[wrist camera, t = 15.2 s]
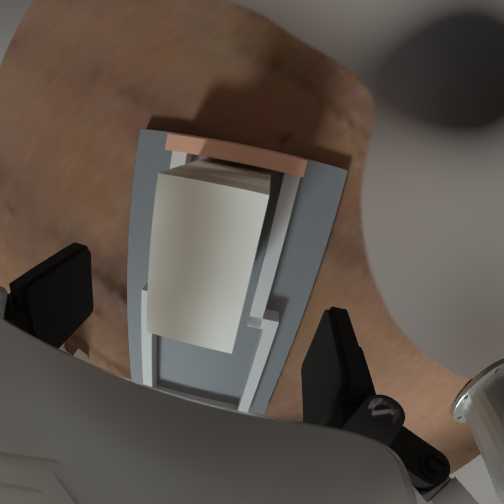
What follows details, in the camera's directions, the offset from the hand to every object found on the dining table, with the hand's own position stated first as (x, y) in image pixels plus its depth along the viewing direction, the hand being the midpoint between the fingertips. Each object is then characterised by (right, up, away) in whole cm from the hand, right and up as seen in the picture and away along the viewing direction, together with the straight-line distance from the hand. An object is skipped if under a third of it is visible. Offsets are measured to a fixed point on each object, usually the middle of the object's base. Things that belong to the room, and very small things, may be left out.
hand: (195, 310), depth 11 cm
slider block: (0, +4, +10) cm, 11 cm away
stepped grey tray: (-1, -2, +14) cm, 14 cm away
